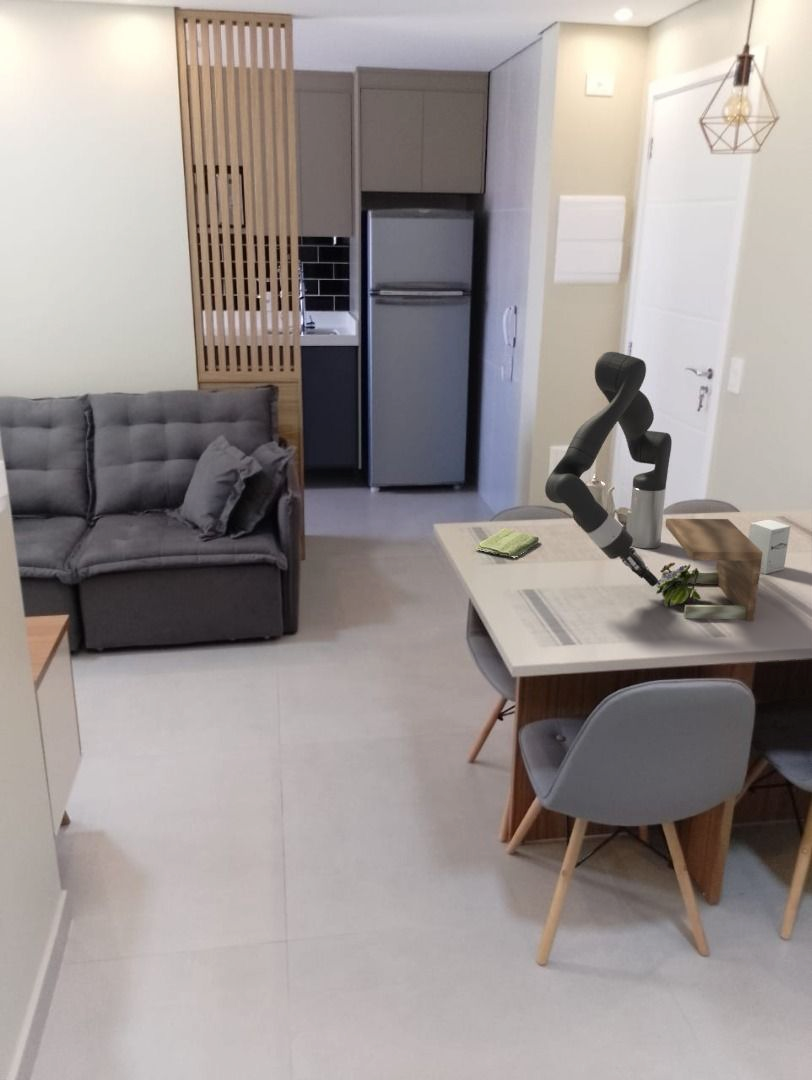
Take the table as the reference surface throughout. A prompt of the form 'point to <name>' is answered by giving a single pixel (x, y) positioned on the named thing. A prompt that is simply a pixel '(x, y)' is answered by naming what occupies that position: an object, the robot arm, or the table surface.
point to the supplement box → (770, 543)
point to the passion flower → (670, 585)
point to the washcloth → (508, 543)
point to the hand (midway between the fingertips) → (655, 583)
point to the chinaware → (597, 492)
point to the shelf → (721, 565)
